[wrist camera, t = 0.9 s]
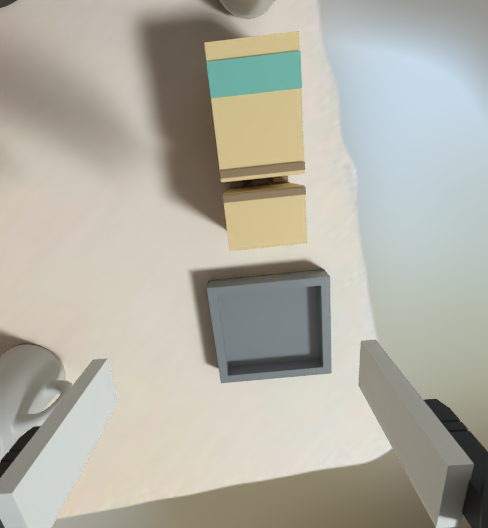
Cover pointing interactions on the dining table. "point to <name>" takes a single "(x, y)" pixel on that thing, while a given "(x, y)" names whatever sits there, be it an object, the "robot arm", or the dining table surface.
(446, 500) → the robot arm
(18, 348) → the mug
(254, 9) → the plastic bottle
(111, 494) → the dining table surface
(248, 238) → the plain tan block
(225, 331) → the tray
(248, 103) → the tan teal-banded block
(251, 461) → the dining table surface
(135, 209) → the dining table surface
